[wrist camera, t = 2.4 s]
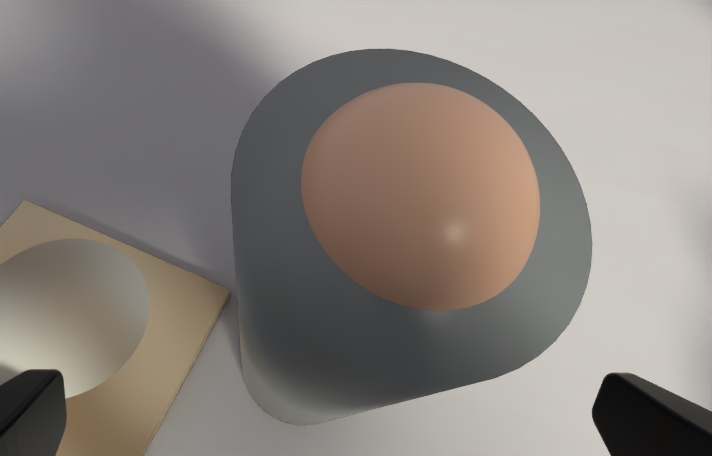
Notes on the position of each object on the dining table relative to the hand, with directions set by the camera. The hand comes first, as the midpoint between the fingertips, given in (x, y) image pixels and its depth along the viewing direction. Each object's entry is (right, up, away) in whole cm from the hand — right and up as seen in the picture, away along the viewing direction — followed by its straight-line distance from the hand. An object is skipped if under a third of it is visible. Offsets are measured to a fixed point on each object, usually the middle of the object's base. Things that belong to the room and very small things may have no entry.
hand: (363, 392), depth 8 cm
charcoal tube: (-2, -2, +9) cm, 10 cm away
